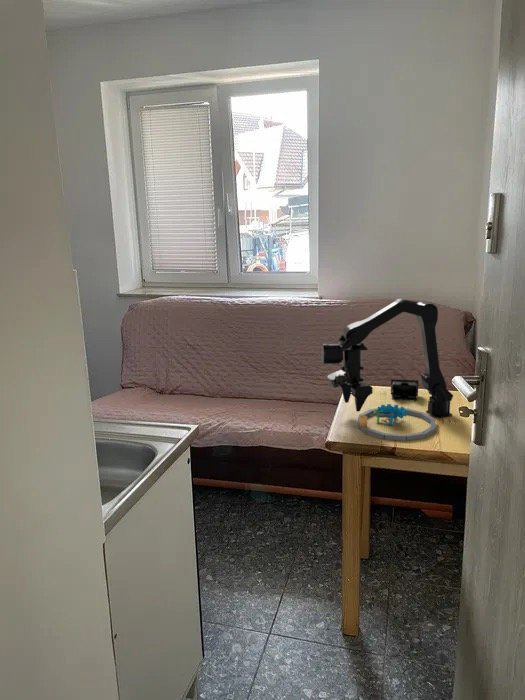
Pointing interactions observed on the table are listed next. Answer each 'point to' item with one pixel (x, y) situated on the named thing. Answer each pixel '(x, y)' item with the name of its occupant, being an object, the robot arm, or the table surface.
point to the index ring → (403, 437)
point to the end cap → (404, 389)
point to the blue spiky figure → (390, 412)
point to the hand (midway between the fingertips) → (352, 406)
